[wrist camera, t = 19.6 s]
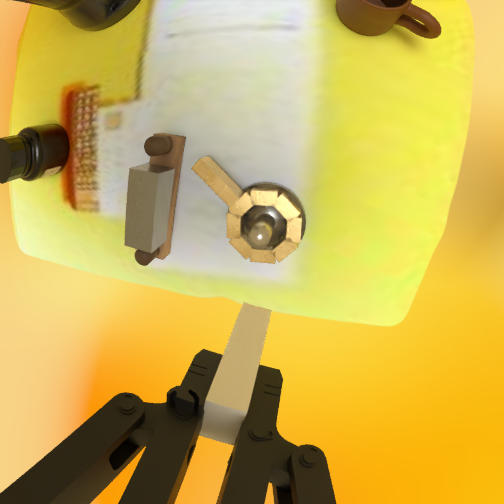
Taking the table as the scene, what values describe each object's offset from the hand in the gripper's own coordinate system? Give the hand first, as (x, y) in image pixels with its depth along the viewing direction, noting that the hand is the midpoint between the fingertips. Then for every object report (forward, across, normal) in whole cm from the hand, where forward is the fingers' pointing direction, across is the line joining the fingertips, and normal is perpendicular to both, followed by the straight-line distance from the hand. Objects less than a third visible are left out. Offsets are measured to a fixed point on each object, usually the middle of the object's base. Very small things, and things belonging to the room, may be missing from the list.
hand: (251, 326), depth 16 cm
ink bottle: (+25, -40, +2) cm, 47 cm away
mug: (+25, +6, +28) cm, 38 cm away
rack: (+24, -16, -2) cm, 30 cm away
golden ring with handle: (+23, -5, 0) cm, 24 cm away
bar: (+22, -16, -2) cm, 28 cm away
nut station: (+24, -2, -2) cm, 25 cm away
